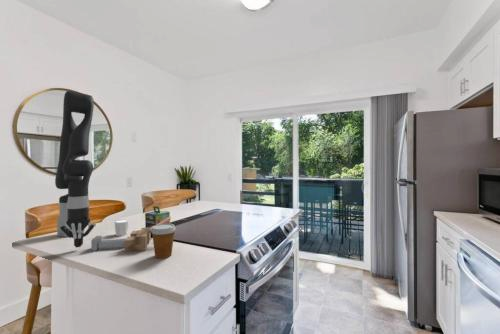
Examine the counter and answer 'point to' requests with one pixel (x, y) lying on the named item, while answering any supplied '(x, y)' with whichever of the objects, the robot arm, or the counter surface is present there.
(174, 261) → the counter surface
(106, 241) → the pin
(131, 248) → the hitch block
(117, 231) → the white cup
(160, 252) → the disposable coffee cup
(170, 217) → the keeper flap
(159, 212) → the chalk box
